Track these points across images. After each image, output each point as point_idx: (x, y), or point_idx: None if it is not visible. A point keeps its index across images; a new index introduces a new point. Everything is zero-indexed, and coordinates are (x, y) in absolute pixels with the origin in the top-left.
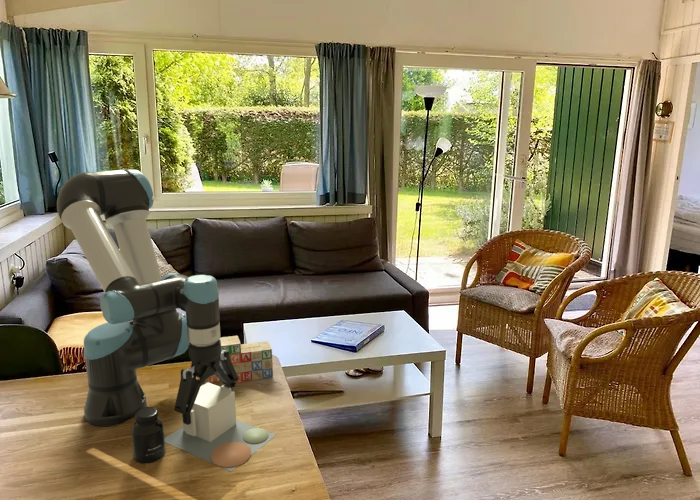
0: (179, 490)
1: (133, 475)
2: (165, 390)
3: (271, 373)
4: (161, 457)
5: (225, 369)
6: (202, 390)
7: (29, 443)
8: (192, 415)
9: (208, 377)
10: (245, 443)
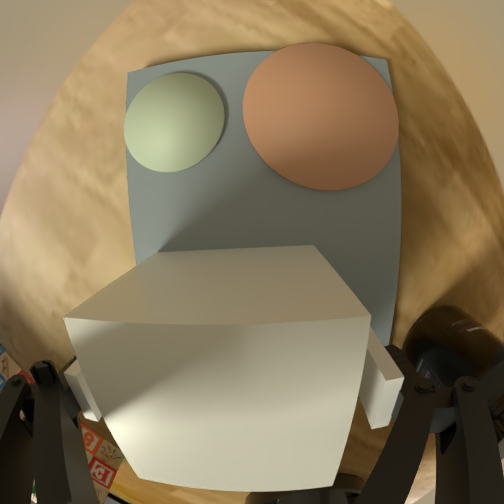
0: (485, 165)
1: (484, 313)
2: (190, 489)
3: None
4: (445, 311)
5: (27, 467)
6: (206, 471)
7: (429, 481)
8: (392, 363)
9: (97, 456)
10: (234, 114)
